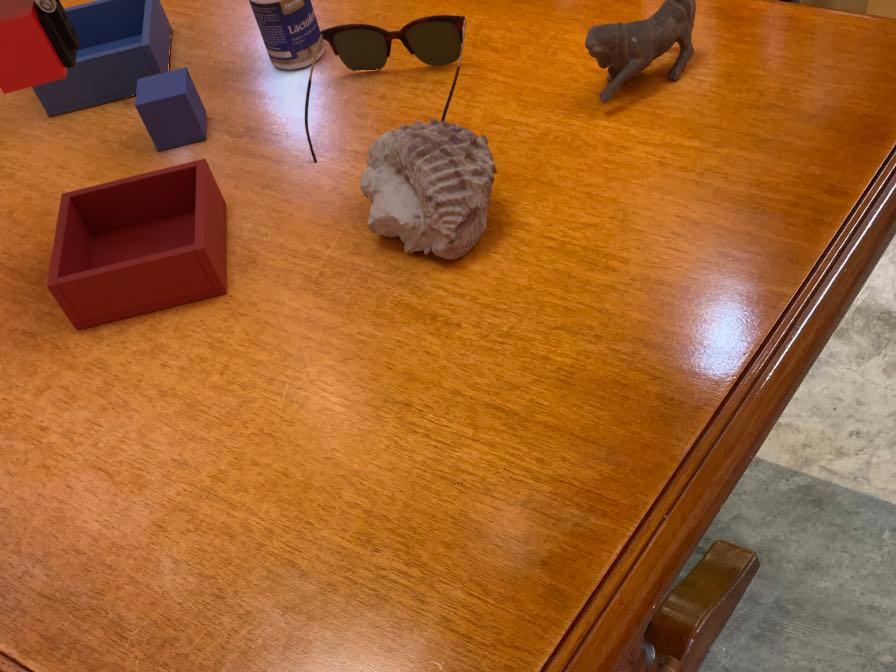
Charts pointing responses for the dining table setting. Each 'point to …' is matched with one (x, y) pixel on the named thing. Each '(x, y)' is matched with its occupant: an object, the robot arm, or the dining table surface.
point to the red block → (25, 48)
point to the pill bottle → (288, 31)
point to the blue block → (171, 109)
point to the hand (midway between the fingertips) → (35, 65)
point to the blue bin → (110, 54)
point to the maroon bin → (139, 245)
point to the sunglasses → (372, 46)
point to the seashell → (430, 187)
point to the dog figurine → (642, 43)
